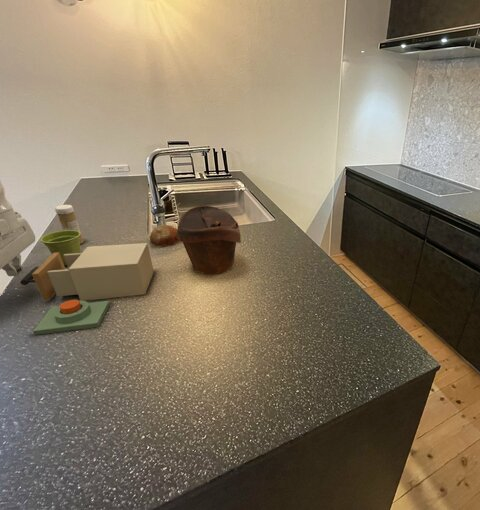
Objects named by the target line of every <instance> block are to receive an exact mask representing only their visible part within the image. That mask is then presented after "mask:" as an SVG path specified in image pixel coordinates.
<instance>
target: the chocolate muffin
mask: <svg viewBox="0 0 480 510" xmlns="http://www.w3.org/2000/svg"><path fill="white" fill-rule="evenodd" d="M176 229H177V239H178V240H179V242H181V243H182V244H183V247H184V249H185V252H186V254H187V257H188V258H189V261H190V263H191V266H192V269H193V270H194V271H196V272H198V273H201V274H207V275H215V274H220V273H223V272H225V271H228V270H229V269H231V268H232V266H233V265H234V262H235V255H236V246H237V243H238V244H242V238H241V232H240V227H239V223H238V221H237V220H236V219H235V218H234V217H233V216H232V215H231V214H230V213H228V212H227V211H225V210H224V209H222V208H219V207H217V206H211V205H198V206H195V207H192V208H190V209H188V210H187V211H186V212H185V213H184V214H183V215H182V216H181V217H180V218H179V221H178V225H177V228H176Z"/></svg>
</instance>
